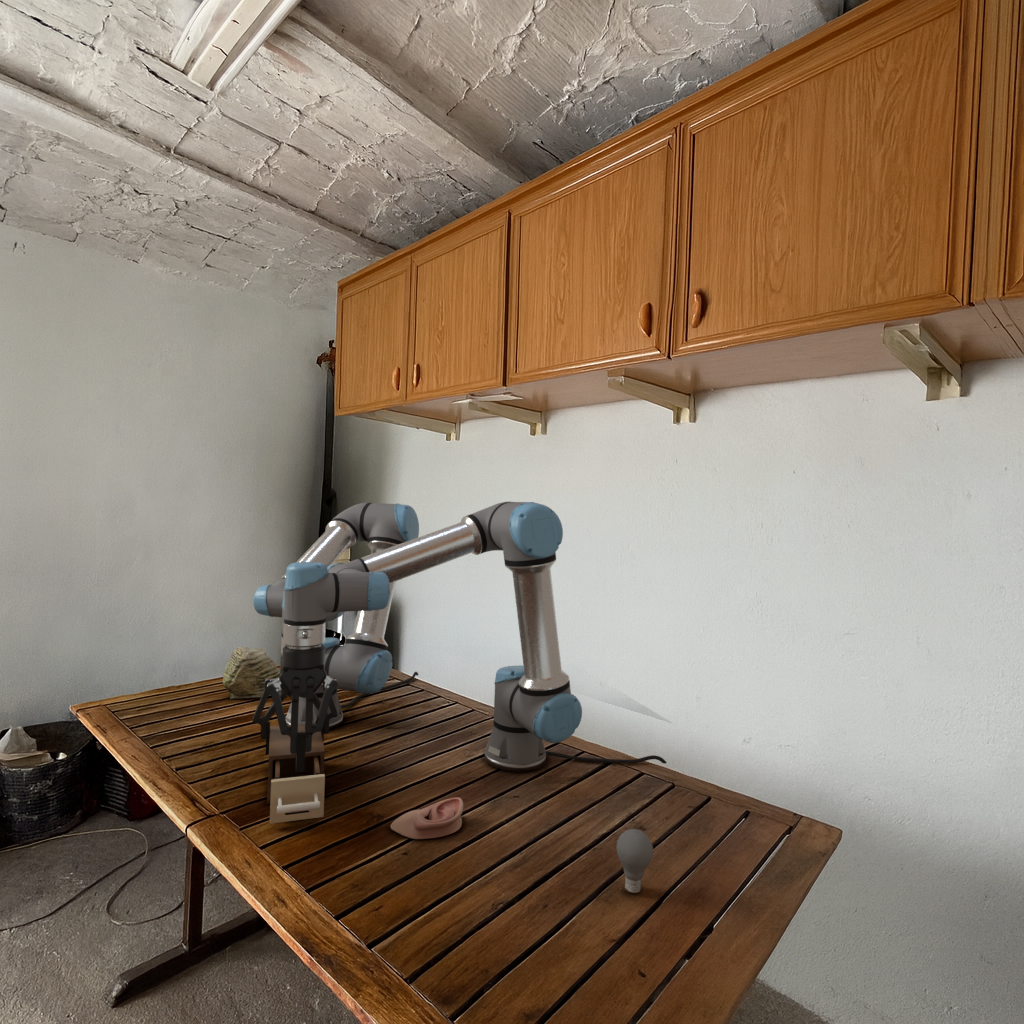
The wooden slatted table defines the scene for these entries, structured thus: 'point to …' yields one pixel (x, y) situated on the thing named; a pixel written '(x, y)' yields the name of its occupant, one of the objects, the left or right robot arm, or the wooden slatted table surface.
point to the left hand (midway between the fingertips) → (294, 750)
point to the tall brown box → (281, 750)
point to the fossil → (248, 672)
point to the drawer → (297, 791)
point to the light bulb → (634, 857)
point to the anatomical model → (431, 820)
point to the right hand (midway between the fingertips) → (300, 769)
